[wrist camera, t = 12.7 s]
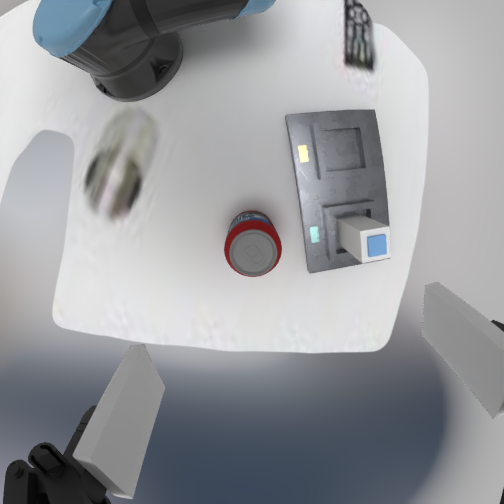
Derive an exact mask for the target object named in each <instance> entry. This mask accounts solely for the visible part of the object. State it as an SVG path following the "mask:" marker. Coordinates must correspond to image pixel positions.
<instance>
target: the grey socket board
mask: <svg viewBox="0 0 504 504" xmlns="http://www.w3.org/2000/svg"><path fill="white" fill-rule="evenodd" d="M285 118H286V123H287V129H288V134H289V140H290V146H291V152H292V158H293V164H294V170H295V177H296V183H297V190H298V197H299V204H300V211H301V218H302V226H303V234H304V242H305V250H306V258H307V267H308V271H309V273H315V272H321V271H326V270H332V269H337V268H343V267H348V266H353V265H358V264H364V263H361V262H360V261H359V260H358V259H356V258H355V257H354V256H353V255H352V254H350V253H349V252H348V251H347V250H346V249H344V248H343V247H342V246H341V245H340V244H338V234H337V224H336V218H338V217H344V216H351V215H358V214H361V215H363V216H366V217H368V218H370V219H373V220H375V221H378V222H380V223H382V224H385V225H387V226H389V215H388V202H387V191H386V181H385V172H384V164H383V156H382V149H381V143H380V136H379V130H378V125H377V119H376V114H375V110H343V111H326V112H312V113H301V114H291V115H286V117H285ZM387 259H389V258H387ZM382 260H384V259H382ZM377 261H379V260H377ZM371 262H374V261H371ZM366 263H369V262H366Z"/></svg>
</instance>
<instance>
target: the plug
mask: <svg viewBox="0 0 504 504" xmlns="http://www.w3.org/2000/svg"><path fill="white" fill-rule="evenodd" d="M336 224H337V234H338V244H340V245H341V246H342V247H343V248H344V249H346V250H347V251H348V252H349V253H350V254H352V255H353V256H354V257H355V258H356V259H358V260H359V261H360V262H361V263H366V262H371V261H377V260H382V259H387V258H390V231H389V226H387V225H385V224H382V223H380V222H378V221H375V220H373V219H370V218H368V217H366V216H363V215H361V214H358V215H351V216H344V217H338V218H336Z"/></svg>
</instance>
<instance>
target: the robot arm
mask: <svg viewBox="0 0 504 504" xmlns="http://www.w3.org/2000/svg"><path fill="white" fill-rule="evenodd" d="M275 1H276V0H42V1H41V2H40V4H39V6H38V8H37V11H36V13H35V17H34V21H33V36H34V39H35V41H36V42H37V44H38V45H39V46H41V47H42V48H44V49H45V50H47V51H48V52H49V53H50V54H51V55H52V56H55V57H58V58H60V59H62V60H64V61H66V62H68V63H70V64H72V65H74V66H76V67H78V68H80V69H82V70H84V71H86V72H88V73H90V75H91V77H92V79H93V81H94V83H95V85H96V87H97V88H98V89H99V90H100V91H101V92H102V93H103V94H105V95H106V96H108V97H110V98H112V99H115V100H118V101H124V102H131V101H137V100H141V99H144V98H147V97H149V96H151V95H153V94H155V93H156V92H158V91H159V90H161V89H162V88H163V87H164V86H165V85H166V84H167V83H168V82H169V81H170V80H171V79H172V78H173V76H174V75H175V73H176V72H177V70H178V68H179V66H180V63H181V60H182V54H183V48H182V43H181V40H180V38H179V36H178V34H177V32H176V31H179V30H183V29H186V28H190V27H194V26H198V25H202V24H206V23H210V22H215V21H219V20H224V19H230V20H234V19H237V18H240V17H241V16H246V15H251V14H257V13H261V12H264V11H266V10H267V9H268V8H270V7H271V6H272V5H273V4H274V2H275ZM421 334H422V335H423V336H424V338H425V339H426V340H427V341H428V342H429V343H430V344H431V345H432V346H433V347H434V348H435V350H436V351H437V352H438V353H439V354H440V355H441V357H442V358H443V359H444V360H445V361H446V362H447V363H448V365H449V366H450V367H451V368H452V369H453V370H454V371H455V373H456V374H457V375H458V376H459V377H460V379H461V380H462V381H463V382H464V383H465V384H466V386H467V387H468V388H469V389H470V391H471V392H472V393H473V394H474V396H475V397H476V398H477V399H478V400H479V402H480V403H481V404H482V406H483V407H484V408H485V409H486V411H487V412H488V413H489V414H490V416H491V417H492V418H493V419H494V420H495V419H496V418H497V417H499V416H500V415H502V414H503V413H504V324H502V323H500V322H497V321H495V320H492V321H489V320H488V319H487V318H485V317H484V316H483V315H482V314H481V313H479V312H478V311H477V310H475V309H474V308H473V307H471V306H470V305H469V304H467V303H466V302H465V301H463V300H462V299H461V298H459V297H458V296H457V295H455V294H454V293H452V292H451V291H450V290H448V289H447V288H446V287H444V286H443V285H441V284H440V283H439V282H435V283H431V284H429V285H425V295H424V311H423V322H422V332H421ZM164 390H165V387H164V385H163V383H162V381H161V379H160V377H159V374H158V372H157V370H156V368H155V366H154V364H153V362H152V360H151V358H150V355H149V353H148V351H147V349H146V347H145V344H141V345H131V346H130V347H129V349H128V350H127V352H126V354H125V356H124V358H123V359H122V361H121V363H120V365H119V366H118V368H117V370H116V372H115V374H114V375H113V377H112V379H111V381H110V383H109V385H108V387H107V388H106V390H105V392H104V394H103V396H102V398H101V400H100V401H99V403H98V405H97V406H92V407H91V408H90V409H89V410H88V411H87V412H86V413H85V414H84V416H83V418H82V419H81V421H80V424H79V426H78V427H77V429H76V432H75V433H74V435H73V436H72V439H71V440H70V442H69V444H68V446H67V448H66V450H65V452H64V454H63V455H62V454H61V453H60V452H59V451H58V450H57V449H56V447H55V446H54V445H52V444H51V443H46V442H44V443H40V444H38V445H36V446H35V447H34V448H33V449H32V450H31V452H30V454H29V456H28V462H29V463H30V464H31V465H32V466H33V467H34V468H31V467H30V466H29V465H28V464H27V463H26V462H25V461H23V460H16V461H14V462H12V463H11V464H10V465H9V466H8V468H7V471H6V476H5V485H4V496H3V504H111V502H110V500H109V499H108V498H107V496H105V493H106V491H107V489H108V490H109V491H110V492H111V493H112V494H113V495H115V496H117V497H123V498H128V499H133V495H134V492H135V488H136V484H137V481H138V477H139V474H140V470H141V466H142V463H143V459H144V456H145V452H146V448H147V445H148V442H149V438H150V435H151V432H152V428H153V425H154V422H155V419H156V415H157V412H158V409H159V405H160V402H161V399H162V396H163V393H164ZM500 504H504V489H503V493H502V497H501V501H500Z"/></svg>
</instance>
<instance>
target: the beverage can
mask: <svg viewBox="0 0 504 504" xmlns="http://www.w3.org/2000/svg"><path fill="white" fill-rule="evenodd" d="M224 252H225V257H226V260H227V262H228V264H229V265H230V266H231V268H232V269H234V270H235V271H236V272H238V273H239V274H241V275H244V276H249V277H257V276H261V275H264V274H266V273H268V272H270V271H271V270H272V269H273V268H274V267H275V266H276V265H277V263H278V262H279V259H280V257H281V252H282V246H281V241H280V238H279V236H278V234H277V232H276V230H275V228H274V226H273V224H272V222H271V221H270V219H269V218H268V217H267V216H266V215H264V214H262V213H260V212H257V211H246V212H243V213H241V214H239V215H238V216H237V217H236V218H235V219H234V220H233V222H232V223H231V226H230V228H229V231H228V234H227V238H226V241H225V247H224Z"/></svg>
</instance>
